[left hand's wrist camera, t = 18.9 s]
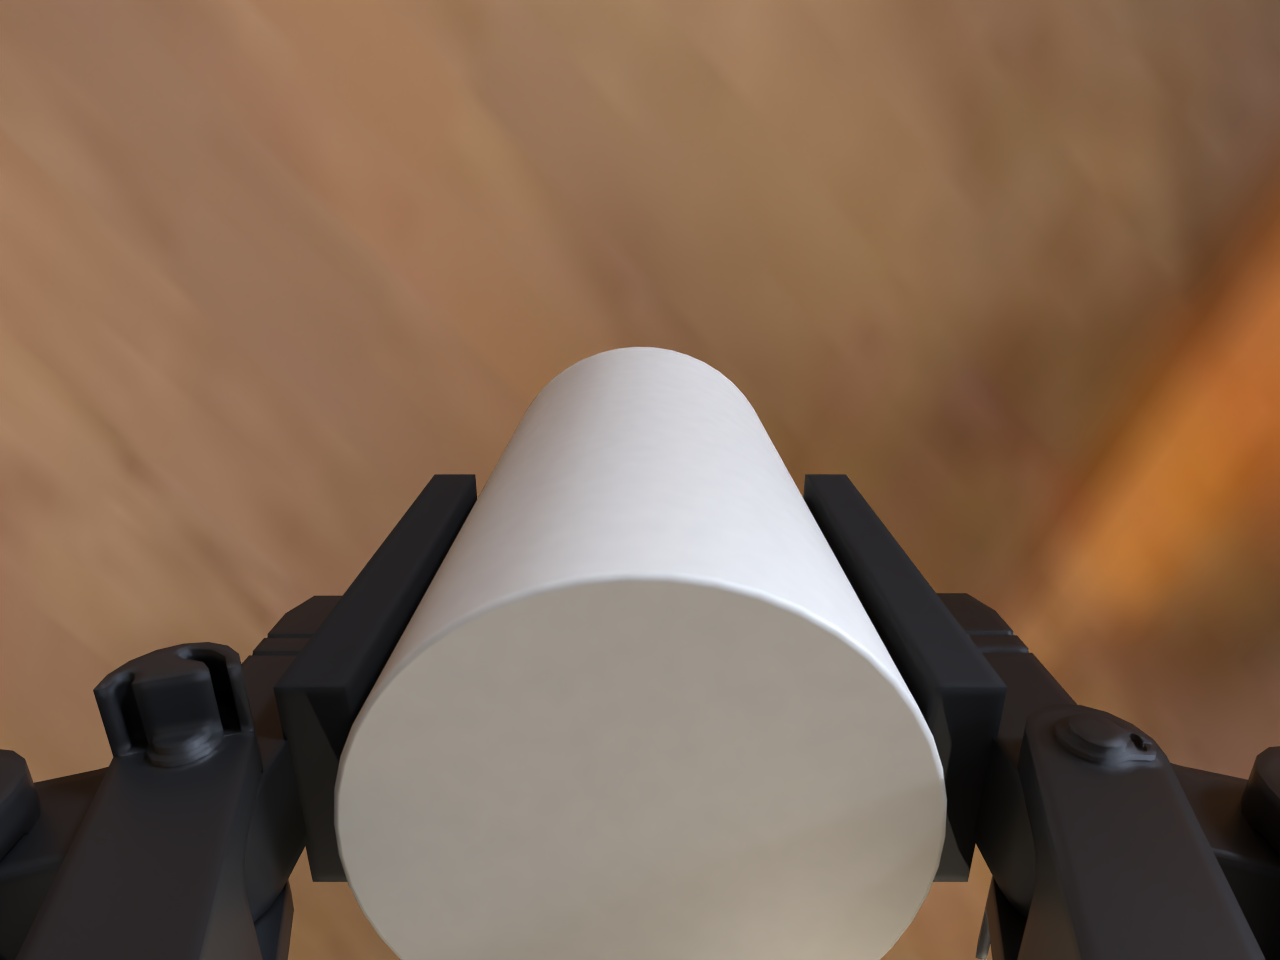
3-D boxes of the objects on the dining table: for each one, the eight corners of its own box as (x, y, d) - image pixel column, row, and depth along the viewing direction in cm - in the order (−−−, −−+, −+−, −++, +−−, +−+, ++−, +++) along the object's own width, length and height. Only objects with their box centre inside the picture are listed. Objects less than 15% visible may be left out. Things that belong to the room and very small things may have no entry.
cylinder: (731, 310, 16) (884, 488, 6) (796, 551, 18) (992, 988, 8) (472, 392, 17) (216, 676, 7) (561, 616, 19) (469, 1096, 9)
